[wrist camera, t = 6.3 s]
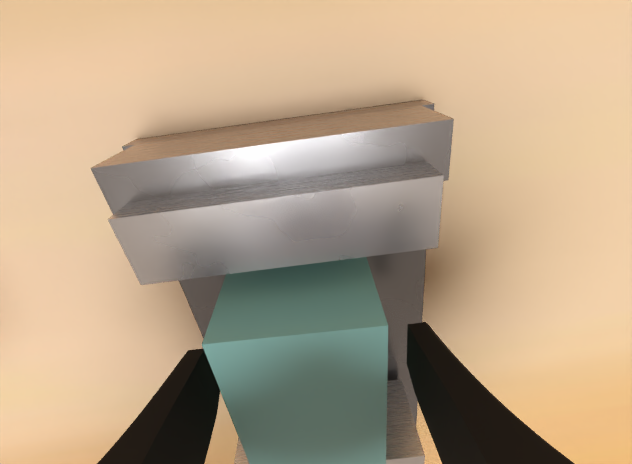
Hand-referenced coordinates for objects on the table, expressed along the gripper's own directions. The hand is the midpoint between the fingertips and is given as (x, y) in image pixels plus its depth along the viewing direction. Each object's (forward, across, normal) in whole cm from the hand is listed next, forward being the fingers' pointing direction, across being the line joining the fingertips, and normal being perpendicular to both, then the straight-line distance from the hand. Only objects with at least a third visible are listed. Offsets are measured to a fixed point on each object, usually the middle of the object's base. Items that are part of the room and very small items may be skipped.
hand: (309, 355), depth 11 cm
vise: (+4, 0, +2) cm, 4 cm away
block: (+3, 0, 0) cm, 3 cm away
